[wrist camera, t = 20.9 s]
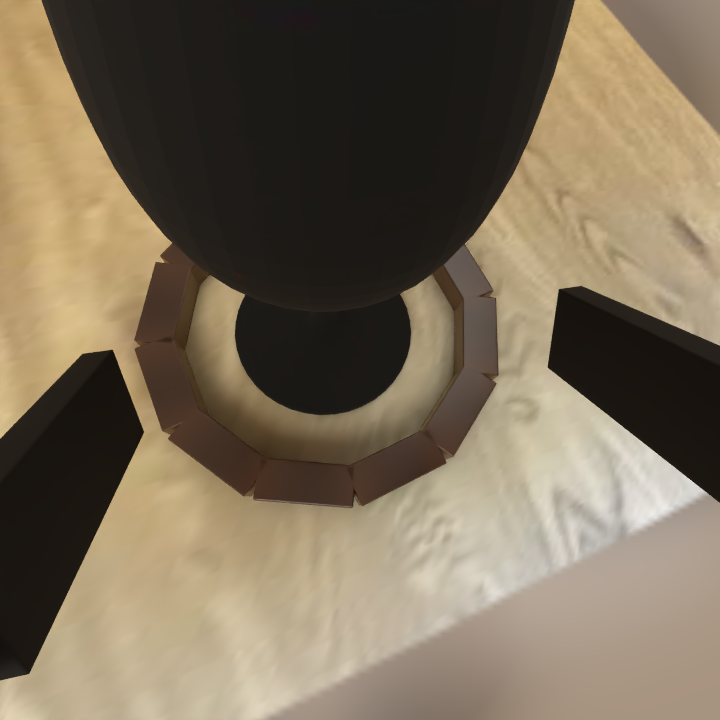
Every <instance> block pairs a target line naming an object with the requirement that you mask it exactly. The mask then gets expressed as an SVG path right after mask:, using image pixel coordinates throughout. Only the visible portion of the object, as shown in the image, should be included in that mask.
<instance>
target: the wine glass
mask: <svg viewBox="0 0 720 720" xmlns="http://www.w3.org/2000/svg"><path fill="white" fill-rule="evenodd" d="M574 1H575V0H42V3H43V6H44V9H45V11H46V14H47V17H48V20H49V23H50V25H51V28H52V31H53V34H54V37H55V39H56V42H57V45H58V48H59V51H60V53H61V56H62V59H63V61H64V64H65V66H66V68H67V71H68V73H69V75H70V78H71V80H72V82H73V85H74V87H75V89H76V92H77V94H78V96H79V99H80V101H81V103H82V105H83V107H84V109H85V112H86V114H87V116H88V118H89V120H90V122H91V124H92V126H93V128H94V130H95V132H96V134H97V136H98V138H99V139H100V141H101V143H102V145H103V147H104V149H105V151H106V153H107V155H108V156H109V158H110V160H111V162H112V164H113V166H114V168H115V169H116V171H117V172H118V174H119V176H120V177H121V179H122V180H123V182H124V183H125V185H126V186H127V188H128V189H129V191H130V192H131V194H132V195H133V196H134V198H135V199H136V200H137V202H138V203H139V204H140V205H141V207H142V208H143V209H144V211H145V212H146V213H147V214H148V216H149V217H150V218H151V219H152V221H153V222H154V223H155V224H156V225H157V227H158V228H159V229H160V230H161V232H162V233H163V234H164V235H165V236H166V237H167V238H168V239H169V240H170V241H171V242H172V243H173V244H174V245H175V246H176V247H177V248H178V249H180V250H181V251H182V252H183V253H184V254H185V255H186V256H187V257H188V258H190V259H191V260H192V261H193V262H194V263H195V264H196V265H197V266H198V267H200V268H201V269H203V270H204V271H205V272H207V273H208V274H210V275H211V276H213V277H215V278H216V279H218V280H219V281H221V282H222V283H224V284H226V285H227V286H229V287H230V288H232V289H234V290H236V291H239V292H241V293H243V294H245V297H244V299H243V301H242V303H241V306H240V308H239V310H238V315H237V319H236V327H235V339H236V347H237V351H238V354H239V357H240V360H241V363H242V365H243V367H244V369H245V371H246V373H247V374H248V376H249V377H250V378H251V380H252V381H253V382H254V384H255V385H256V386H257V387H258V388H259V389H260V390H261V391H262V392H263V393H264V394H265V395H266V396H268V397H269V398H271V399H272V400H274V401H275V402H277V403H279V404H281V405H283V406H285V407H287V408H289V409H292V410H295V411H299V412H303V413H308V414H316V415H329V414H338V413H343V412H349V411H351V410H354V409H357V408H359V407H362V406H364V405H366V404H367V403H369V402H371V401H373V400H375V399H376V398H377V397H378V396H380V395H381V394H382V393H383V392H385V391H386V389H387V388H388V387H389V386H390V385H391V384H392V383H393V382H394V381H395V379H396V377H397V376H398V374H399V373H400V371H401V369H402V367H403V365H404V363H405V360H406V358H407V355H408V351H409V347H410V338H411V328H410V319H409V316H408V312H407V308H406V306H405V304H404V301H403V299H402V297H401V295H400V293H402V292H404V291H406V290H408V289H410V288H412V287H414V286H416V285H417V284H419V283H420V282H421V281H423V280H424V279H425V278H427V277H428V276H430V275H431V274H432V273H434V272H435V271H436V270H438V269H439V268H440V267H442V266H443V265H444V264H445V263H446V262H447V261H448V260H449V259H450V258H451V257H452V256H453V255H454V254H455V253H456V252H457V251H458V250H459V249H460V248H461V247H462V246H463V245H464V244H465V243H466V242H467V241H468V240H469V239H470V238H471V237H472V236H473V235H474V233H475V232H476V231H477V229H478V228H479V227H480V225H481V224H482V223H483V221H484V220H485V219H486V217H487V215H488V214H489V212H490V211H491V209H492V208H493V206H494V205H495V203H496V202H497V200H498V199H499V197H500V195H501V194H502V192H503V190H504V189H505V187H506V185H507V183H508V182H509V180H510V178H511V177H512V175H513V173H514V171H515V169H516V167H517V165H518V163H519V160H520V158H521V156H522V154H523V152H524V150H525V147H526V145H527V143H528V141H529V139H530V136H531V134H532V131H533V129H534V126H535V124H536V121H537V119H538V116H539V113H540V111H541V108H542V105H543V102H544V100H545V97H546V94H547V91H548V89H549V86H550V83H551V80H552V78H553V75H554V72H555V69H556V65H557V62H558V58H559V55H560V52H561V48H562V45H563V41H564V38H565V35H566V31H567V28H568V24H569V21H570V17H571V13H572V9H573V5H574Z"/></svg>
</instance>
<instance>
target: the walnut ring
mask: <svg viewBox="0 0 720 720" xmlns="http://www.w3.org/2000/svg"><path fill="white" fill-rule="evenodd" d="M160 256H161V258H162V259H163V261H164V262H165V263H160V262H156V263H155V267H154V270H153V274H152V278H151V281H150V285H149V289H148V292H147V296H146V300H145V303H144V307H143V311H142V314H141V318H140V322H139V325H138V329H137V332H136V336H135V341H136V342H137V343H138V344H139V345H140V347H137V348H135V352H136V355H137V358H138V361H139V364H140V366H141V369H142V372H143V375H144V378H145V381H146V384H147V387H148V390H149V393H150V396H151V399H152V402H153V405H154V408H155V411H156V414H157V417H158V420H159V423H160V426H161V429H162V431H163V432H165V433H168V434H170V437H169V438H168V439H169V440H170V441H171V442H173V443H174V444H175V445H177V446H178V447H179V448H180V449H182V450H183V451H184V452H186V453H187V454H188V455H190V456H191V457H192V458H194V459H195V460H196V461H198V462H199V463H200V464H202V465H203V466H204V467H206V468H207V469H208V470H210V471H211V472H212V473H214V474H215V475H216V476H218V477H219V478H220V479H221V480H223V481H224V482H225V483H227V484H228V485H229V486H231V487H232V488H233V489H235V490H236V491H237V492H239V493H240V494H241V495H243V496H252V494H253V493H254V496H253V499H254V500H258V501H270V502H283V503H295V504H307V505H319V506H332V507H344V508H352V507H353V501H354V495H355V497H356V500H357V502H358V504H359V505H360V506H364V505H366V504H368V503H370V502H372V501H374V500H375V499H377V498H379V497H381V496H383V495H385V494H387V493H389V492H391V491H393V490H395V489H397V488H399V487H401V486H403V485H405V484H407V483H409V482H411V481H413V480H415V479H417V478H419V477H421V476H423V475H425V474H427V473H429V472H431V471H432V470H434V469H436V468H438V467H440V466H442V465H444V464H446V459H448V458H451V457H453V456H454V455H455V453H456V452H457V450H458V448H459V447H460V445H461V443H462V441H463V440H464V438H465V436H466V435H467V433H468V431H469V430H470V428H471V426H472V425H473V423H474V421H475V420H476V418H477V416H478V414H479V413H480V411H481V409H482V408H483V406H484V404H485V403H486V401H487V399H488V398H489V396H490V394H491V392H492V391H493V389H494V387H495V386H496V383H495V382H494V381H492V380H493V379H494V378H496V377H497V376H498V345H497V314H496V298H492V297H489V296H490V295H491V294H492V292H493V289H492V287H491V285H490V284H489V282H488V281H487V279H486V277H485V276H484V274H483V273H482V271H481V269H480V268H479V266H478V265H477V263H476V262H475V260H474V258H473V257H472V255H471V254H470V252H469V250H468V249H467V247H466V246H465V244H464V245H463V246H462V247H461V248H460V249H459V250H458V251H457V252H456V253H455V254H454V255H453V256H452V257H451V258H450V259H449V260H448V261H447V262H446V263H445V264H444V265H443V266H442V267H440V268H439V269H438V270H436V271H435V272H434V273H432V274H433V276H434V277H435V279H436V281H437V283H438V284H439V286H440V288H441V289H442V291H443V293H444V294H445V296H446V298H447V300H448V301H449V303H450V305H451V306H452V308H453V310H454V312H455V320H454V377H453V379H452V380H451V382H450V383H449V385H448V386H447V388H446V390H445V391H444V393H443V394H442V396H441V397H440V399H439V401H438V402H437V404H436V405H435V407H434V408H433V410H432V412H431V413H430V415H429V416H428V418H427V419H426V421H425V423H424V424H423V426H422V427H421V429H420V430H419V432H418V433H416V434H413V435H411V436H409V437H407V438H405V439H403V440H401V441H399V442H397V443H395V444H393V445H391V446H389V447H387V448H385V449H382V450H380V451H378V452H376V453H374V454H372V455H370V456H368V457H366V458H364V459H362V460H360V461H358V462H356V463H354V464H352V465H341V464H330V463H318V462H306V461H295V460H283V459H272V458H265V457H264V456H263V455H261V454H260V453H258V452H257V451H256V450H254V449H253V448H252V447H250V446H249V445H248V444H246V443H245V442H243V441H242V440H241V439H239V438H238V437H237V436H235V435H234V434H233V433H231V432H230V431H229V430H227V429H226V428H224V427H223V426H222V425H220V424H219V423H218V422H216V421H215V420H214V419H212V418H211V417H209V415H208V412H207V410H206V407H205V404H204V402H203V399H202V396H201V394H200V391H199V388H198V386H197V383H196V380H195V377H194V375H193V372H192V369H191V367H190V364H189V361H188V359H187V356H186V353H185V351H184V349H185V345H186V341H187V336H188V332H189V328H190V323H191V319H192V314H193V310H194V306H195V301H196V297H197V293H198V288H199V285H200V284H201V283H202V282H203V281H204V280H205V279H206V278H207V276H208V275H209V274H208V273H207V272H205V271H204V270H203V269H201V268H200V267H198V266H197V265H196V264H195V263H194V262H193V261H192V260H191V259H190V258H188V257H187V256H186V255H185V254H184V253H183V252H182V251H181V250H180V249H178V248H177V247H176V246H175V245H174V244H173V243H172V244H171V245H170V246H169V247H168V248H167V249H166V250H165V251H164V252H163V253H162V254H161V255H160Z"/></svg>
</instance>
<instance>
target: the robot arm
mask: <svg viewBox="0 0 720 720" xmlns="http://www.w3.org/2000/svg"><path fill="white" fill-rule="evenodd" d="M548 368H549V369H550V370H552V371H553V372H554V373H555V374H557V375H558V376H559V377H560V378H562V379H563V380H564V381H566V382H567V383H568V384H569V385H571V386H572V387H573V388H574V389H576V390H577V391H578V392H580V393H581V394H582V395H583V396H585V397H586V398H587V399H588V400H590V401H591V402H592V403H594V404H595V405H596V406H597V407H599V408H600V409H601V410H602V411H604V412H605V413H606V414H608V415H609V416H610V417H611V418H613V419H614V420H615V421H616V422H618V423H619V424H620V425H622V426H623V427H624V428H625V429H627V430H628V431H629V432H630V433H632V434H633V435H634V436H636V437H637V438H638V439H639V440H641V441H642V442H643V443H644V444H646V445H647V446H648V447H650V448H651V449H652V450H653V451H655V452H656V453H657V454H658V455H660V456H661V457H662V458H664V459H665V460H666V461H667V462H669V463H670V464H671V465H672V466H674V467H675V468H676V469H678V470H679V471H680V472H681V473H683V474H684V475H685V476H686V477H688V478H689V479H690V480H692V481H693V482H694V483H695V484H697V485H698V486H699V487H700V488H702V489H703V490H704V491H706V492H707V493H708V494H709V495H711V496H712V497H713V498H715V499H716V500H717V501H718V502H720V346H719V345H717V344H714V343H712V342H710V341H708V340H705V339H703V338H701V337H698V336H696V335H694V334H691V333H689V332H687V331H684V330H682V329H680V328H677V327H675V326H673V325H670V324H668V323H666V322H664V321H661V320H659V319H657V318H654V317H652V316H650V315H647V314H645V313H643V312H640V311H638V310H636V309H633V308H631V307H629V306H626V305H624V304H622V303H620V302H617V301H615V300H613V299H610V298H608V297H606V296H603V295H601V294H599V293H596V292H594V291H592V290H589V289H587V288H585V287H582V286H579V287H571V288H564V289H559V292H558V299H557V306H556V313H555V320H554V327H553V334H552V341H551V348H550V355H549V362H548ZM143 433H144V431H143V428H142V425H141V423H140V420H139V417H138V415H137V412H136V410H135V407H134V404H133V402H132V399H131V396H130V394H129V391H128V389H127V386H126V383H125V381H124V378H123V375H122V373H121V370H120V368H119V365H118V362H117V360H116V357H115V354H114V352H113V350H108V351H100V352H93V353H86V354H82V355H81V356H80V357H79V358H78V359H77V360H76V361H75V362H74V363H73V364H72V365H71V367H70V368H69V369H68V370H67V371H66V372H65V373H64V374H63V375H62V376H61V377H60V378H59V379H58V380H57V381H56V382H55V383H54V384H53V385H52V386H51V387H50V388H49V389H48V390H47V391H46V392H45V393H44V394H43V395H42V396H41V397H40V398H39V400H38V401H37V402H36V403H35V404H34V405H33V406H32V407H31V408H30V409H29V410H28V411H27V412H26V413H25V414H24V415H23V416H22V417H21V418H20V419H19V420H18V421H17V422H16V423H15V424H14V425H13V426H12V427H11V428H10V429H9V430H8V431H7V432H6V434H5V435H4V436H3V437H2V438H1V439H0V680H4V679H8V678H13V677H17V676H22V675H26V674H29V673H30V671H31V669H32V667H33V665H34V663H35V660H36V658H37V656H38V654H39V652H40V650H41V648H42V646H43V644H44V641H45V639H46V637H47V635H48V633H49V631H50V629H51V627H52V625H53V623H54V620H55V618H56V616H57V614H58V612H59V610H60V608H61V606H62V604H63V602H64V599H65V597H66V595H67V593H68V591H69V589H70V587H71V585H72V583H73V581H74V578H75V576H76V574H77V572H78V570H79V568H80V566H81V564H82V562H83V560H84V557H85V555H86V553H87V551H88V549H89V547H90V545H91V543H92V541H93V539H94V536H95V534H96V532H97V530H98V528H99V526H100V524H101V522H102V520H103V518H104V515H105V513H106V511H107V509H108V507H109V505H110V503H111V501H112V499H113V497H114V494H115V492H116V490H117V488H118V486H119V484H120V482H121V480H122V478H123V476H124V473H125V471H126V469H127V467H128V465H129V463H130V461H131V459H132V457H133V454H134V452H135V450H136V448H137V446H138V444H139V442H140V440H141V438H142V436H143Z"/></svg>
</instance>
